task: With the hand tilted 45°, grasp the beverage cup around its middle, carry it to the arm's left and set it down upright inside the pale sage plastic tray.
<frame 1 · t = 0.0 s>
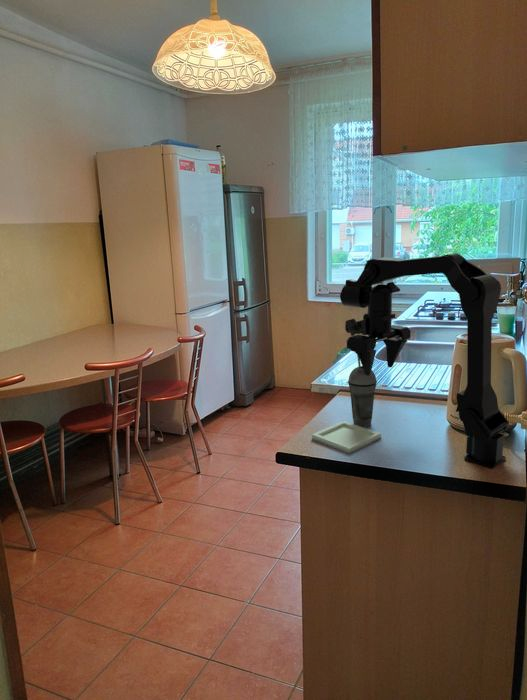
hand: (378, 371, 132), 15 cm above the countertop, tool pointing down, fingers open, 9 cm apart
tray: (346, 438, 129), on the countertop
beverage cup: (362, 424, 137), on the countertop
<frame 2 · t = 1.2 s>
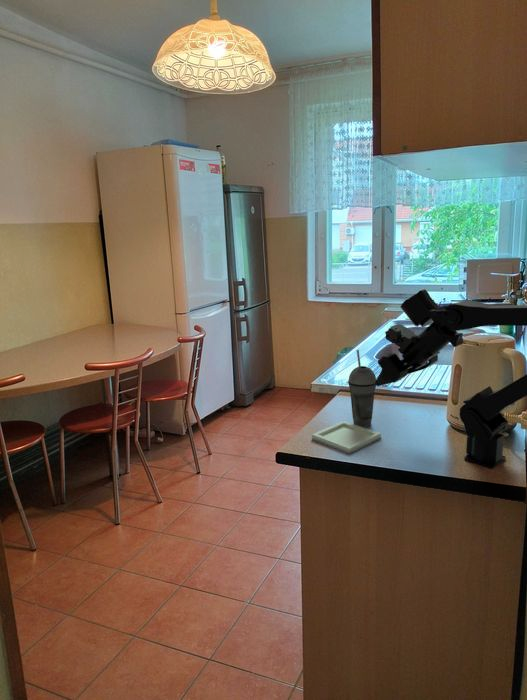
hand: (386, 379, 129), 13 cm above the countertop, tool tilted 45°, fingers open, 9 cm apart
nothing on the countertop moved.
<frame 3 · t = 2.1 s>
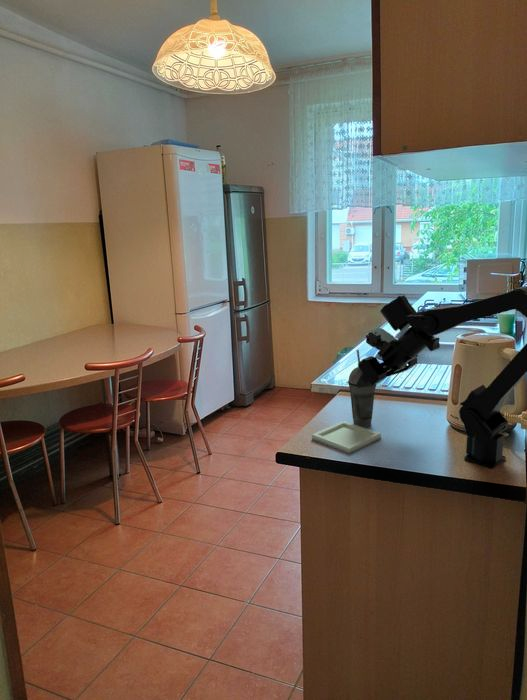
hand: (367, 381, 133), 12 cm above the countertop, tool tilted 45°, fingers open, 9 cm apart
nothing on the countertop moved.
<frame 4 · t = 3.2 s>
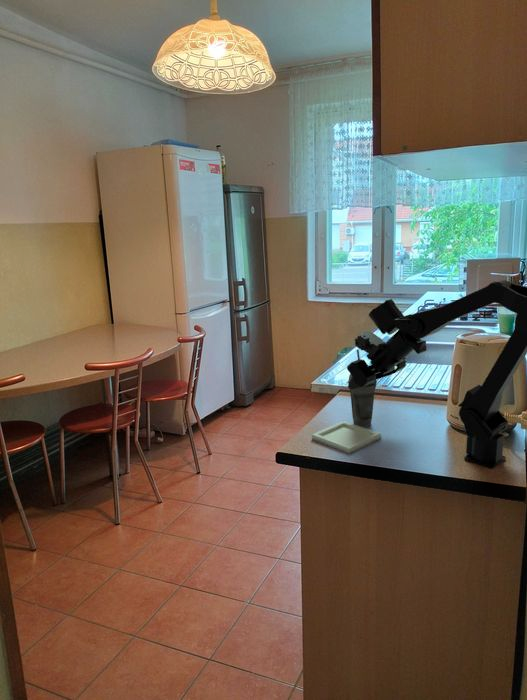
hand: (357, 384, 136), 11 cm above the countertop, tool tilted 45°, fingers closed on beverage cup, 7 cm apart
beverage cup: (362, 424, 137), on the countertop, touching gripper
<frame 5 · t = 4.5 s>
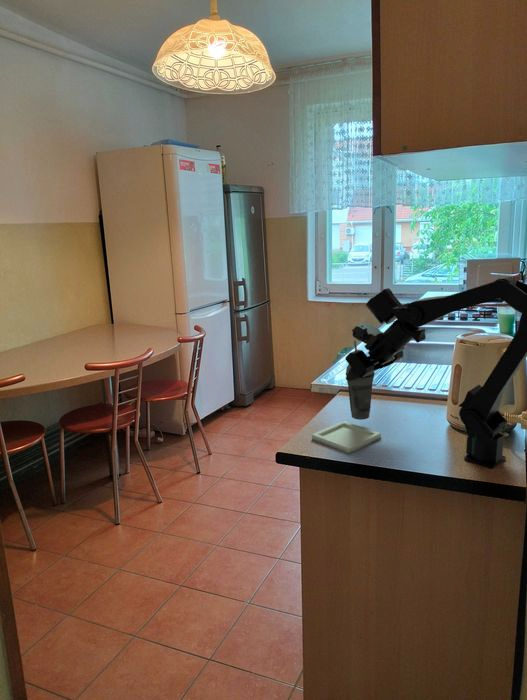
hand: (355, 376, 134), 13 cm above the countertop, tool tilted 45°, fingers closed on beverage cup, 7 cm apart
beverage cup: (360, 417, 136), point 2 cm above the countertop, touching gripper
when the fingers open (12 cm above the countertop, at t = 6.1 s): beverage cup stays where it is, resting on tray.
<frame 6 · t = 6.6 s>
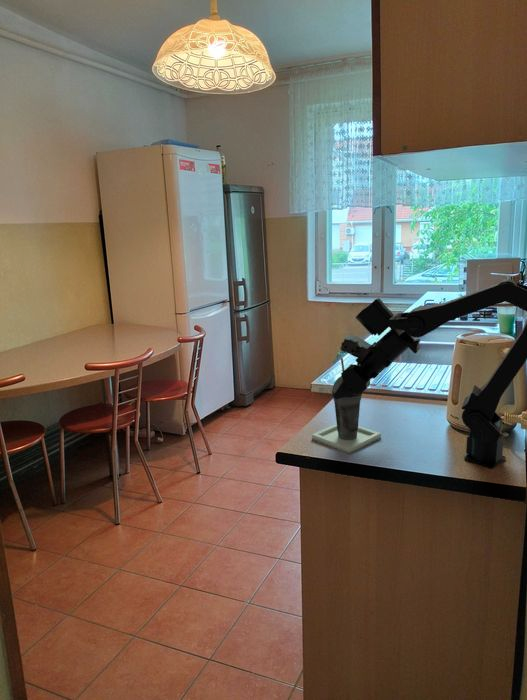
hand: (340, 391, 126), 12 cm above the countertop, tool tilted 45°, fingers open, 9 cm apart
beverage cup: (347, 437, 129), resting on tray
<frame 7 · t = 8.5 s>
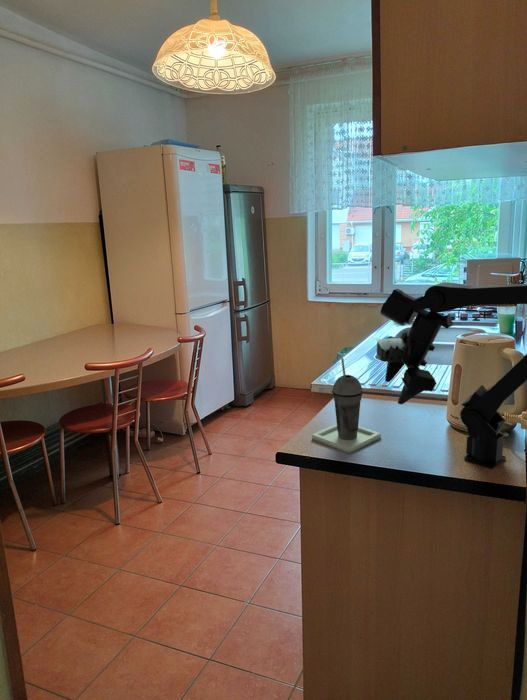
hand: (393, 392, 124), 12 cm above the countertop, tool tilted 25°, fingers open, 9 cm apart
nothing on the countertop moved.
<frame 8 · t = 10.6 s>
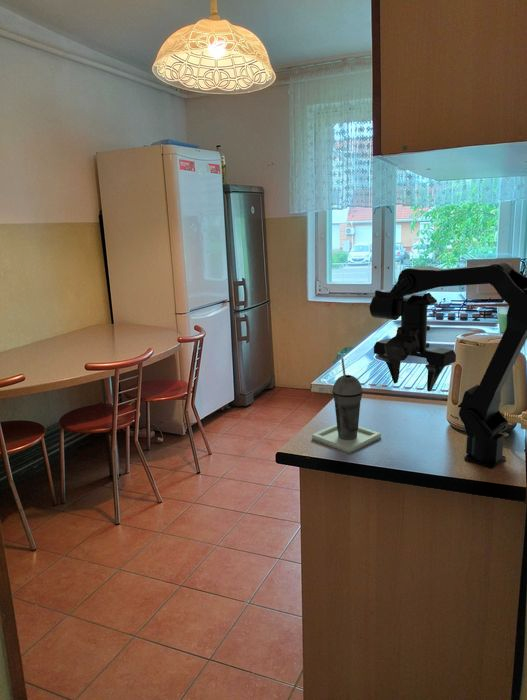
hand: (412, 386, 124), 13 cm above the countertop, tool pointing down, fingers open, 9 cm apart
nothing on the countertop moved.
at the end: beverage cup inside the target area on the tray (0.4 cm from its centre), point 0.3 cm above the tray's base; beverage cup tilted 0°; the gripper is holding nothing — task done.
